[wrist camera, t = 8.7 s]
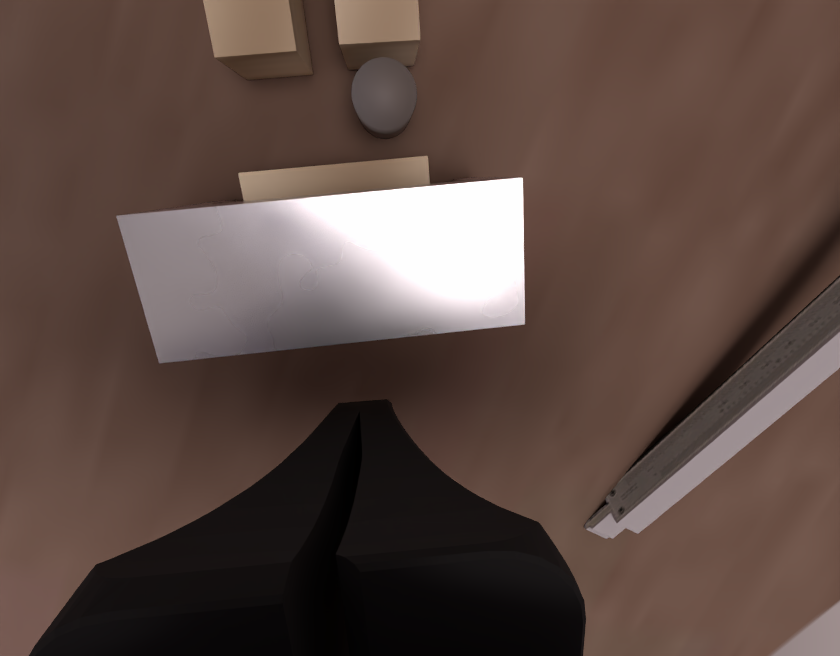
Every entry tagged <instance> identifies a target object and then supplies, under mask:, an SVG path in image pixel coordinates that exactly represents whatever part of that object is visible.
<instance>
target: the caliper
mask: <svg viewBox="0 0 840 656" xmlns="http://www.w3.org/2000/svg"><path fill="white" fill-rule="evenodd" d="M839 368H840V276H839V277H837V278H836V279H835V280H834V281H833V282H832V283H831V284H830V285H829V286H828V287H827V288H826V289H824V290H823V291H822V292H821V293H820V294H819V295H818V296H817V297H816V298H815V299H814V300H813V301H811V302H810V303H809V304H808V305H807V306H806V307H805V308H804V309H803V310H802V311H801V312H800V313H798V314H797V315H796V316H795V317H794V318H793V319H792V320H791V321H790V322H789V323H788V324H786V325H785V326H784V327H783V328H782V329H781V330H780V331H779V332H778V333H777V334H776V335H775V336H773V337H772V338H771V339H770V340H769V341H768V342H767V343H766V344H765V345H764V346H763V347H762V348H760V349H759V350H758V351H757V352H756V353H755V354H754V355H753V356H752V357H751V358H750V359H748V360H747V361H746V362H745V363H744V364H743V365H742V366H741V367H740V368H739V369H738V370H736V371H735V372H734V373H733V374H732V375H731V376H730V377H729V378H728V379H727V380H725V381H724V382H723V383H722V384H721V385H720V386H719V387H718V388H717V389H716V390H714V391H713V392H712V393H711V394H710V395H709V396H708V397H707V398H706V399H705V400H703V401H702V402H701V403H700V404H699V405H698V406H697V407H696V408H695V409H693V410H692V411H691V412H690V413H689V414H688V415H687V416H686V417H685V418H684V419H682V420H681V421H680V422H679V423H678V424H677V425H676V426H675V427H674V428H673V429H671V430H670V431H669V432H668V433H667V434H666V435H665V436H664V437H663V438H662V439H660V440H659V441H658V442H657V443H656V444H655V445H654V446H653V447H652V448H651V449H649V450H648V451H647V452H646V453H645V454H644V455H643V456H642V457H641V458H640V459H638V460H637V461H636V462H635V463H634V464H633V465H632V466H631V467H630V469H629V470H628V471H627V472H626V474H625V475H624V476H623V477H622V479H621V480H620V481H619V482H618V484H617V485H616V486H615V487H614V488H613V490H612V491H611V492H610V493H609V495H608V496H607V497H606V498H605V499H606V502H607V504H606V505H605V506H603V507H602V508H601V509H600V510H599V511H598V512H596V513H595V514H594V515H593V516H592V517H591V518H590V519H589V520H588V521H587V522H586V523H585V526H584V528H585V529H586V530H588V531H591V532H593V533H595V534H597V535H599V536H601V537H604V538H606V539H607V538H608V537H610V538H612V539H613V538H614V537H615V536H616V535H618V534H619V533H620V532H621V531H623V530H624V529H625V528H627V529H629V530H631V531H633V532H635V533H639V532H641V531H642V530H643V529H644V528H646V527H647V526H648V525H649V524H650V523H652V522H653V521H654V520H655V519H657V518H658V517H659V516H660V515H661V514H663V513H664V512H665V511H666V510H668V509H669V508H670V507H671V506H672V505H674V504H675V503H676V502H677V501H679V500H680V499H681V498H682V497H683V496H685V495H686V494H687V493H688V492H690V491H691V490H692V489H693V488H694V487H696V486H697V485H698V484H699V483H701V482H702V481H703V480H704V479H705V478H707V477H708V476H709V475H710V474H712V473H713V472H714V471H715V470H716V469H718V468H719V467H720V466H721V465H723V464H724V463H725V462H726V461H727V460H729V459H730V458H731V457H732V456H734V455H735V454H736V453H737V452H738V451H740V450H741V449H742V448H743V447H744V446H746V445H747V444H748V443H749V442H751V441H752V440H753V439H754V438H755V437H757V436H758V435H759V434H760V433H761V432H763V431H764V430H765V429H766V428H767V427H769V426H770V425H771V424H772V423H774V422H775V421H776V420H777V419H778V418H780V417H781V416H782V415H783V414H784V413H786V412H787V411H788V410H789V409H790V408H792V407H793V406H794V405H795V404H797V403H798V402H799V401H800V400H801V399H803V398H804V397H805V396H806V395H807V394H809V393H810V392H811V391H812V390H813V389H815V388H816V387H817V386H818V385H819V384H821V383H822V382H823V381H824V380H826V379H827V378H828V377H829V376H830V375H832V374H833V373H834V372H835V371H836V370H838V369H839Z"/></svg>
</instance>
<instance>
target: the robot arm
mask: <svg viewBox="0 0 840 656" xmlns="http://www.w3.org/2000/svg"><path fill="white" fill-rule="evenodd" d="M585 624H586V615H585V604H584V599H583V597H582V595H581V593H580V590H579V587H578V585H577V583H576V580H575V578H574V576H573V574H572V572H571V571H570V569H569V567H568V565H567V563H566V562H565V560H564V559H563V557H562V555H561V554H560V552H559V551H558V549H557V548H556V546H555V545H554V543H553V542H552V540H551V539H550V537H549V536H548V534H547V533H546V531H545V530H544V529H543V527H542V526H541V524H540V523H539V522H537V521H534V520H532V519H529V518H526V517H524V516H521V515H519V514H516V513H514V512H511V511H509V510H506V509H504V508H501V507H499V506H497V505H495V504H493V503H491V502H489V501H487V500H485V499H483V498H481V497H479V496H478V495H476V494H474V493H472V492H471V491H469V490H467V489H466V488H464V487H463V486H461V485H460V484H458V483H457V482H456V481H454V480H453V479H451V478H450V477H449V476H447V475H446V474H445V473H444V472H442V471H441V470H440V469H439V468H438V467H437V466H436V465H435V464H434V463H433V462H432V461H431V460H430V459H429V458H428V457H427V456H426V455H425V454H424V453H423V452H422V451H421V450H420V449H419V447H418V446H417V445H416V444H415V443H414V441H413V440H412V439H411V438H410V436H409V435H408V433H407V432H406V431H405V429H404V428H403V426H402V425H401V423H400V421H399V420H398V418H397V416H396V414H395V412H394V410H393V407H392V403H391V402H390V401H388V400H387V399H385V400H373V401H360V402H348V403H338V404H337V405H336V407H335V408H334V409H333V410H332V411H331V412H330V413H329V414H328V415H327V417H326V418H325V419H324V420H323V421H322V422H321V423H320V425H319V426H318V427H317V428H316V429H315V430H314V431H313V432H312V433H311V435H310V436H309V437H308V438H307V439H306V440H305V441H304V442H303V443H302V444H301V445H300V446H299V447H298V448H297V449H296V450H295V451H293V452H292V453H291V454H290V455H289V456H288V457H287V458H286V459H285V460H284V461H283V462H282V463H281V464H279V465H278V466H277V467H276V468H275V469H273V470H272V471H271V472H270V473H268V474H267V475H266V476H264V477H263V478H262V479H260V480H259V481H258V482H256V483H255V484H254V485H252V486H251V487H249V488H248V489H247V490H245V491H243V492H242V493H240V494H239V495H237V496H236V497H234V498H232V499H231V500H229V501H228V502H226V503H224V504H223V505H221V506H220V507H218V508H217V509H215V510H213V511H211V512H210V513H208V514H206V515H204V516H202V517H201V518H199V519H197V520H195V521H193V522H191V523H189V524H187V525H185V526H183V527H182V528H180V529H178V530H176V531H174V532H172V533H170V534H167V535H165V536H163V537H161V538H159V539H157V540H155V541H152V542H150V543H147V544H145V545H143V546H140V547H138V548H136V549H133V550H131V551H128V552H126V553H124V554H121V555H119V556H117V557H114V558H112V559H109V560H107V561H104V562H102V563H99V564H96V565H95V567H94V568H93V569H92V570H91V571H90V573H89V574H88V575H87V577H86V578H85V579H84V581H83V582H82V583H81V585H80V586H79V587H78V589H77V590H76V591H75V592H74V594H73V595H72V597H71V598H70V599H69V601H68V602H67V603H66V605H65V606H64V607H63V609H62V610H61V611H60V613H59V614H58V615H57V617H56V618H55V619H54V621H53V622H52V623H51V625H50V626H49V627H48V629H47V630H46V631H45V633H44V634H43V635H42V637H41V638H40V639H39V641H38V642H37V643H36V645H35V646H34V648H33V650H32V651H31V653H30V655H29V656H583V648H584V636H585Z"/></svg>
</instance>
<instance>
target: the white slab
mask: <svg viewBox="0 0 840 656" xmlns="http://www.w3.org/2000/svg"><path fill="white" fill-rule="evenodd" d="M116 217H117V220H118V223H119V227H120V230H121V234H122V237H123V241H124V244H125V247H126V251H127V254H128V258H129V261H130V265H131V268H132V272H133V275H134V278H135V282H136V285H137V289H138V292H139V296H140V299H141V303H142V306H143V309H144V313H145V316H146V320H147V323H148V327H149V330H150V334H151V337H152V340H153V344H154V347H155V351H156V354H157V358H158V361H159V363H167V362H177V361H186V360H196V359H205V358H214V357H224V356H233V355H243V354H252V353H261V352H271V351H280V350H289V349H299V348H308V347H318V346H327V345H336V344H346V343H355V342H364V341H374V340H383V339H393V338H402V337H411V336H421V335H430V334H440V333H449V332H458V331H468V330H477V329H486V328H496V327H505V326H515V325H524V324H525V292H524V229H523V178H503V177H471V178H460V179H453V182H443V183H432V184H422V185H411V186H400V187H390V188H379V189H368V190H358V191H347V192H336V193H325V194H315V195H304V196H293V197H283V198H272V199H261V200H251V201H240V202H236V199H235V200H225V201H214V202H207V203H200V204H193V205H186V206H180V207H173V208H166V209H159V210H152V211H145V212H139V213H132V214H125V215H118V216H116Z"/></svg>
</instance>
